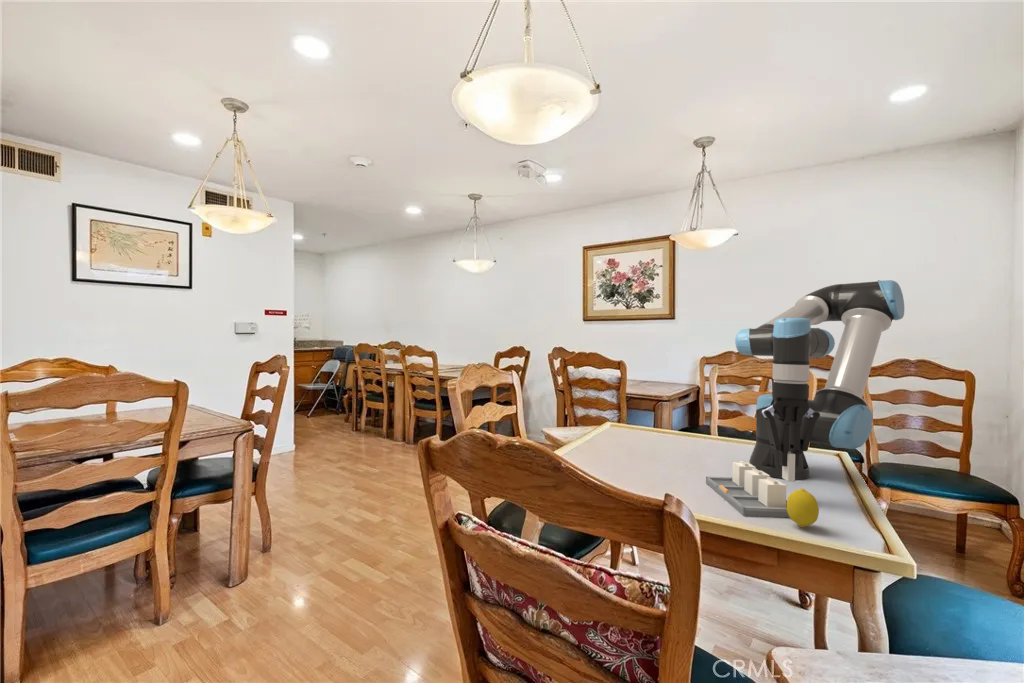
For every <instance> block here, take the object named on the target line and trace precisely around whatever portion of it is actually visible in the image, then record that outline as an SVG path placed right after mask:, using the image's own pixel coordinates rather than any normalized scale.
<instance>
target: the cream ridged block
mask: <svg viewBox="0 0 1024 683" xmlns="http://www.w3.org/2000/svg"><path fill="white" fill-rule="evenodd" d="M767 477H771V476H770V475H768V474H766V473H765V472H763V471H759V470H757V469H756V468H752V470H745V484H744V490H745V491H746V492H748V493H749V494H750V495H752V496H758V490H759V479H767Z"/></svg>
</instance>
